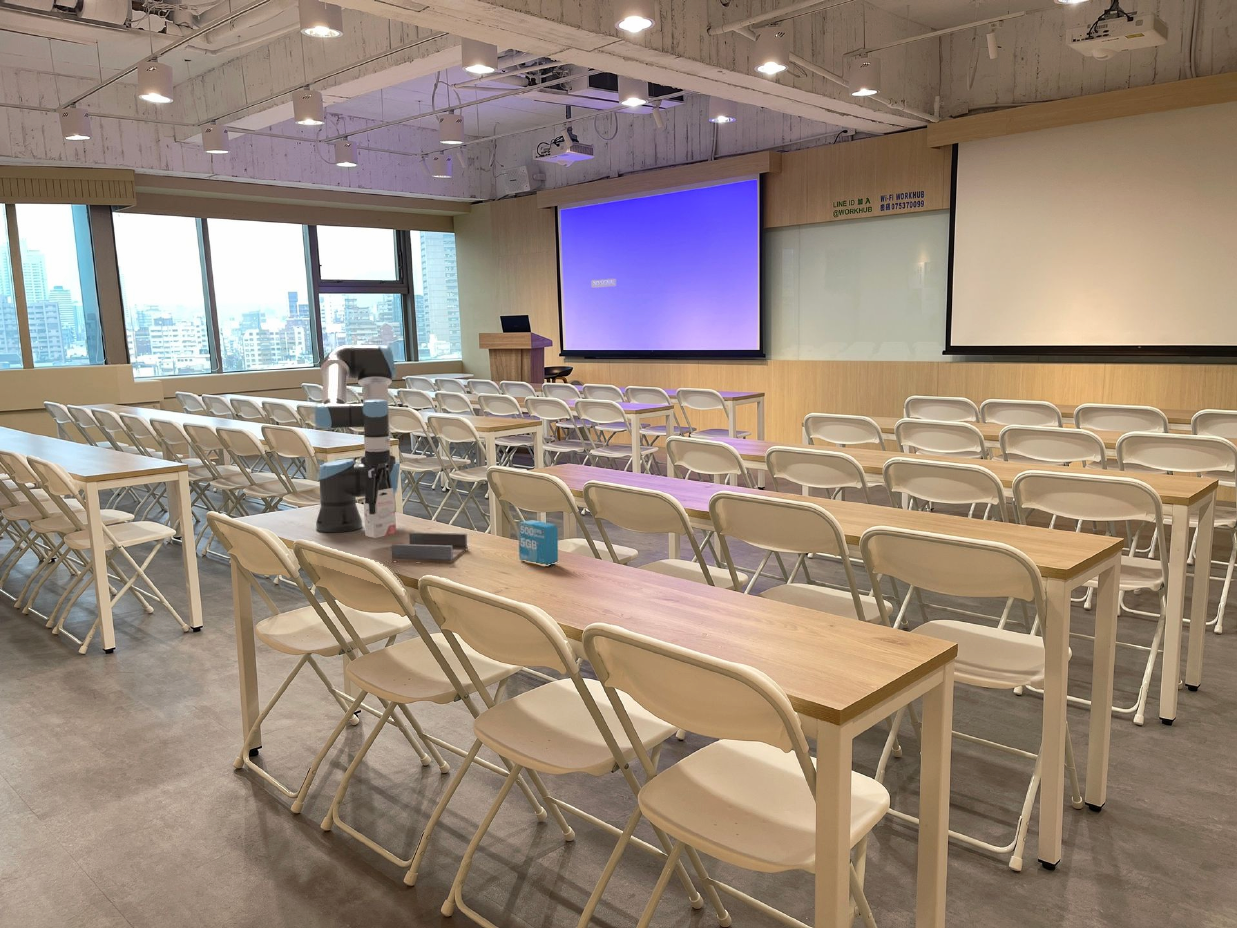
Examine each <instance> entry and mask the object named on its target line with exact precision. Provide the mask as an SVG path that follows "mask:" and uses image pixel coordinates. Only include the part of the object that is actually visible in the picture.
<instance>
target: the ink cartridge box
mask: <svg viewBox="0 0 1237 928" xmlns="http://www.w3.org/2000/svg"><path fill="white" fill-rule="evenodd" d="M383 492H384V493H387V494H386V495H382V496H380V495H379V494H382V493H383ZM376 503H378V521H379V524H369V506H368V504H365V499H363V514H364V515H363V516H364V529H365V530H364V531H365V533H364V534H365V536H366V537H369V538H373V539H376V538H377V539H378V538H380V537H385V536H389V535H393V534H397V526H396V525H397V524H396V500H395V494H394V492H393V488H389V489H384V490H379V491H378V495H377V501H376Z"/></svg>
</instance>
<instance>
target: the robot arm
mask: <svg viewBox="0 0 1237 928" xmlns="http://www.w3.org/2000/svg"><path fill="white" fill-rule="evenodd" d="M395 366H396V365H395V359H394V354H393V351H392V349H391V347H390V346H389V345H382V344H380V345H379V344H353V345H352V344H348V345H347V344H346V345H341V346H338V347H336V348H334V349H332V350H331V351H330V352H329V353H328V354H327V355H326V356H325V357H324V358H323V360H322V362H321V364H320V370H319V371H320V376H321V378H322V398H321V400H322V402H321V404H316V405H315V406H314V422H315V423H314V424H315V426H316V427H317V429H318V428H319V429H328V430H329V429H343V428H344V429H346V428H363V432H364V434H363V443H364V444H363V446H364V454H363V455H362V456H361V457H360V462H359V463H358V462H356V461H355V460H354V459H353V458H342V459H337V460H331V461H328V462H325V463H323V464H321V465H319V468H318V470H319V471H318V473H319V474H318V475H319V477H318V481H319V497H320V498H319V499H320V501H319V503H320V507H319V508H320V509H319V512H318V515H317V518H316V522H315V523H316V524H315V529H316V531H319V532H323V533H345V532H351V531H356V530H359V529H361V528H362V527H363V520H362V517H361V515H360V512H359V510H358V509H359V508H358V507H357V498H362V497H363V498H364V500H365V504H368V506H369V524H379V521H378V503H376V501H377V495H378V491H379V490H384V489H389V488H393V492H394V495H396V493H398V486H399V477H400V464H401V463H400V462H399V460H398V461H396V456H395V455H394V454H393V453H392V452H391V441H392V440H391V431H390V430H391V429H390V428H391V427H390V409H389V407H390V405H389V388H388V387H389V386H390V385H391V384H392V383H393V381H392V379H394V378H396V376H397V375H396V367H395ZM348 379H357V383H358V385H360V387H362V403H348V402H347V398H348V397H347V394H348V393H347V390H348V389H347V386H348V384H347V382H348ZM386 494H387V493H384V492H383V493H382V494H379V495H380V496H382V495H386Z"/></svg>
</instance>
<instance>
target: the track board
mask: <svg viewBox="0 0 1237 928" xmlns="http://www.w3.org/2000/svg"><path fill="white" fill-rule="evenodd" d="M408 536H409V537H408V538H409V539H408V541H409V543H402V544H401V543H392V544H391V545H390V546H391V547H390V548H391V549H390V550H391V558H390V561H396V562H395V563H406V562H420V563H419V564H440V565H441V564H443V565H446V564H447V565H451V564H452V563H453V562H455V561H456V560H457V559H458V558H459V557H461V555H463V554H464V553H465V552H467V550H468V549H469V546H468V534H467V533H456V532H455V533H451V532H423V531H422V532H421V531H420V532H418V531H417V532H416V531H411V532H409V533H408ZM466 549H467V550H466ZM464 551H465V552H464ZM462 553H463V554H462Z"/></svg>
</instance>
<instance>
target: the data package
mask: <svg viewBox="0 0 1237 928" xmlns="http://www.w3.org/2000/svg"><path fill="white" fill-rule="evenodd" d="M558 534H559V533H558V527H557V525H556V524H554V523H549V522H544V521H540V520H534V519H530V520H526V521H521V522H520V523H519V524H518V557H519V560H520V561H521V560H526V561H530V562H536V563H540V564H546V565H548V564H552V563H555V562H557V563H558V560H559V546H558V545H559V537H558Z"/></svg>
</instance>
